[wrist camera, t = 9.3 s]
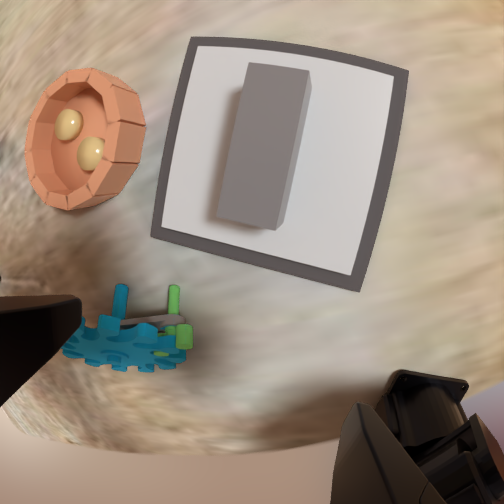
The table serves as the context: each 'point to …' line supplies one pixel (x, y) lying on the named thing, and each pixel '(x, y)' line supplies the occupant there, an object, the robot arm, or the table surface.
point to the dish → (84, 139)
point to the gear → (133, 337)
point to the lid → (278, 154)
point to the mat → (380, 185)
